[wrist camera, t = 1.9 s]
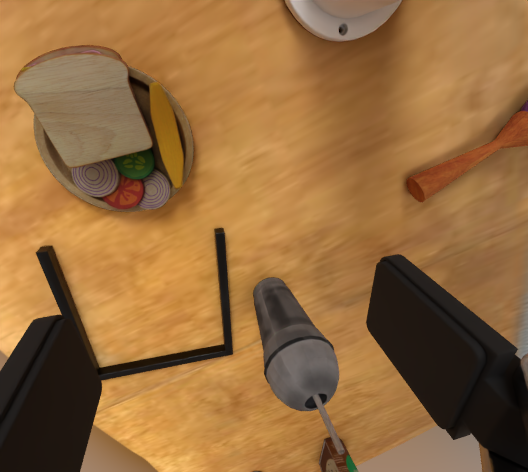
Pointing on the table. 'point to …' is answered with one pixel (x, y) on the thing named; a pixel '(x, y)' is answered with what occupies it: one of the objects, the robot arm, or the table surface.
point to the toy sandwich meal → (106, 128)
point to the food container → (335, 458)
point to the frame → (70, 312)
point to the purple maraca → (469, 158)
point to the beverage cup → (295, 353)
